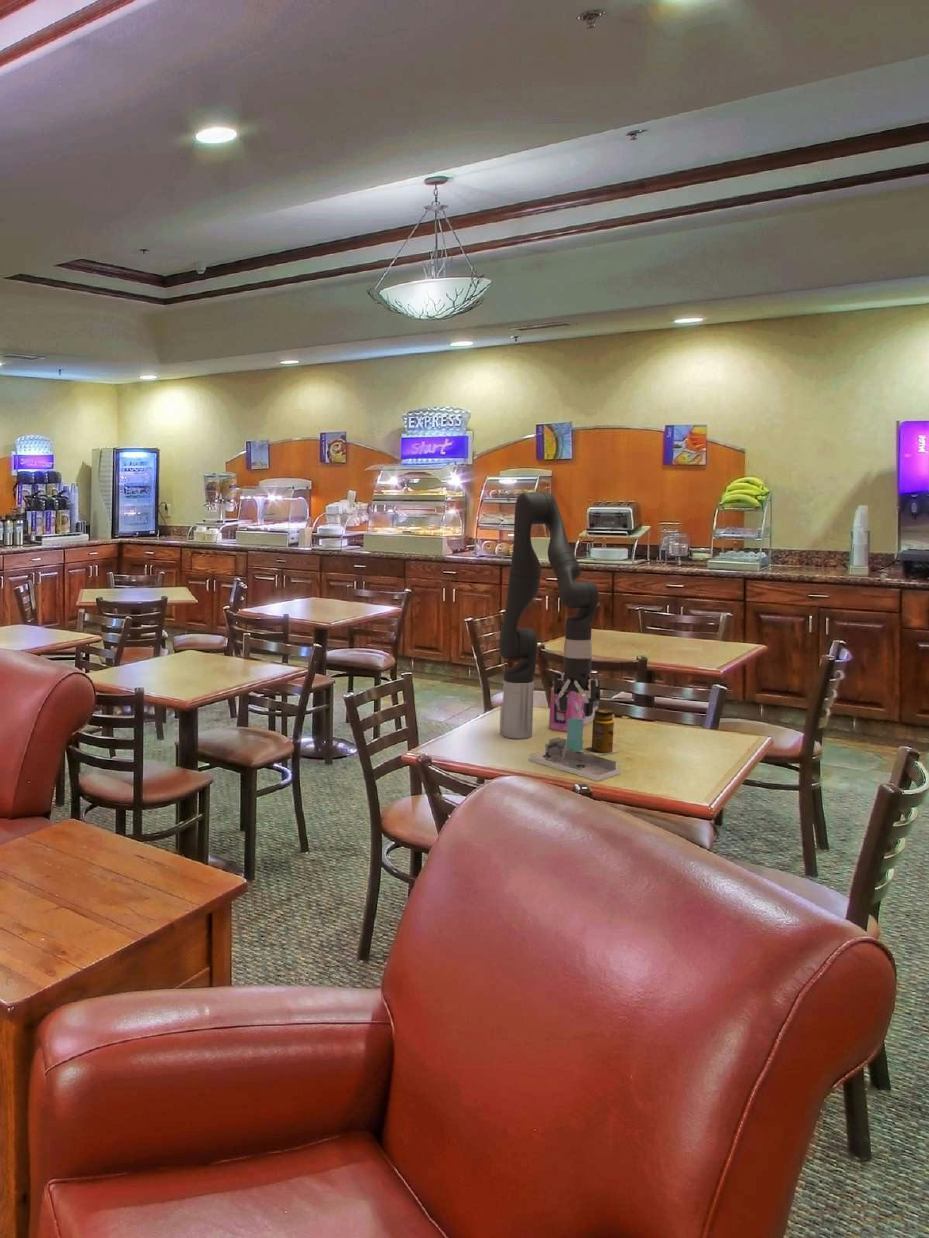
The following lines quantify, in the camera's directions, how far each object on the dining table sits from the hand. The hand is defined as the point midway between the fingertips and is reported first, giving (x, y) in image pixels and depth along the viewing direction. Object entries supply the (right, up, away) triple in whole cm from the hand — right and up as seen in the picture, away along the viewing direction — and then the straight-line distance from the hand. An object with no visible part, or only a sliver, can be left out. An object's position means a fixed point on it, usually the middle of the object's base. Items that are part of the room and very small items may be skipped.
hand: (575, 713), depth 244 cm
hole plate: (-1, -15, -1) cm, 15 cm away
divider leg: (-1, -12, +1) cm, 12 cm away
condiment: (+9, -13, +15) cm, 22 cm away
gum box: (+5, -8, +46) cm, 47 cm away
